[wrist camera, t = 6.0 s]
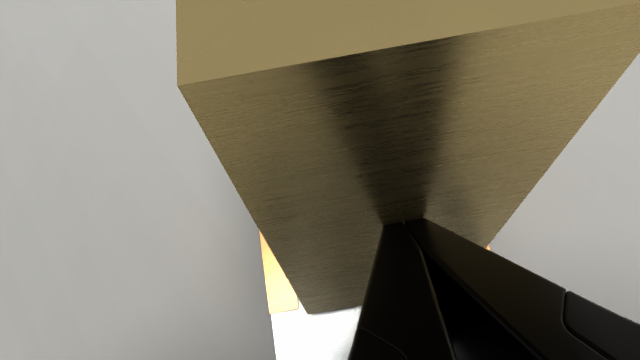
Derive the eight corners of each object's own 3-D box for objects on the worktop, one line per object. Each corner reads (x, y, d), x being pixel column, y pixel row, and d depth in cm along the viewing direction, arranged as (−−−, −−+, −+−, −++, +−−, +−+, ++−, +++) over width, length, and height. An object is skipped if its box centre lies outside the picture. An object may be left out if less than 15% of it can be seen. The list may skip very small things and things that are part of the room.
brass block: (454, 287, 15) (683, -5, 4) (307, 314, 15) (177, 85, 4) (409, 138, 18) (484, -266, 7) (285, 161, 18) (172, -210, 7)
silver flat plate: (567, 553, 14) (588, 573, 13) (311, 599, 14) (308, 624, 13) (441, 123, 19) (447, 109, 18) (254, 157, 19) (248, 144, 18)
